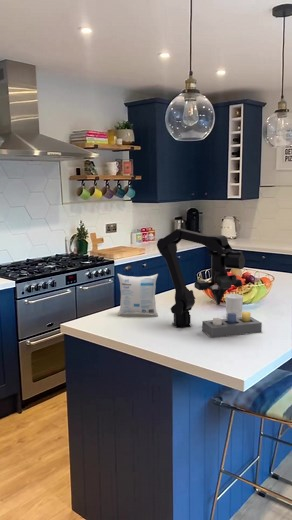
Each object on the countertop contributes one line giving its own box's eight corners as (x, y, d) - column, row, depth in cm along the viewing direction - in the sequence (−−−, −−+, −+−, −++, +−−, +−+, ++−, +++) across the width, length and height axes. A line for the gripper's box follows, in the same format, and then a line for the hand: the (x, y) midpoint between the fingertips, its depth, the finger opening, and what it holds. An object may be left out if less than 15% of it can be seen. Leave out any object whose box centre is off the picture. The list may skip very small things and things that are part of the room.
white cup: (222, 318, 206) (223, 297, 205) (228, 314, 213) (228, 293, 212) (239, 320, 203) (240, 298, 201) (244, 316, 210) (245, 295, 208)
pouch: (156, 318, 208) (156, 276, 204) (116, 317, 211) (115, 275, 208) (159, 314, 215) (159, 272, 212) (120, 312, 219) (119, 271, 216)
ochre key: (244, 323, 187) (244, 314, 187) (240, 321, 191) (240, 312, 190) (251, 322, 188) (252, 313, 187) (247, 320, 192) (247, 311, 191)
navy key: (229, 325, 185) (229, 315, 185) (225, 322, 189) (225, 313, 188) (237, 324, 186) (237, 315, 186) (233, 321, 190) (233, 312, 189)
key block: (212, 337, 181) (212, 328, 180) (202, 330, 190) (202, 321, 189) (261, 332, 186) (261, 322, 186) (249, 325, 196) (249, 316, 195)
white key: (215, 330, 184) (215, 320, 183) (211, 327, 187) (211, 318, 187) (223, 329, 185) (223, 319, 184) (219, 326, 188) (219, 317, 188)
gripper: (204, 271, 172) (204, 311, 174) (249, 268, 177) (248, 307, 179) (193, 267, 183) (194, 304, 185) (236, 264, 187) (235, 300, 190)
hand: (218, 304), depth 185 cm, fingers closed
